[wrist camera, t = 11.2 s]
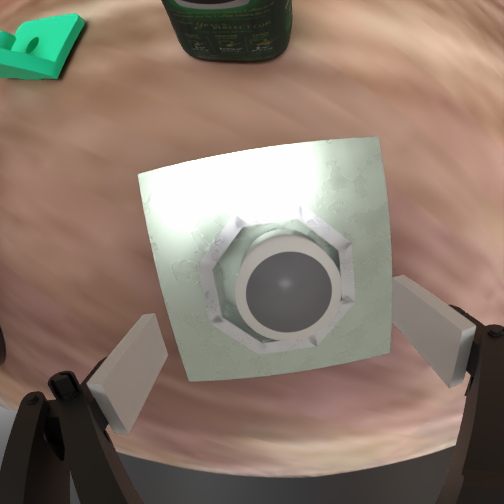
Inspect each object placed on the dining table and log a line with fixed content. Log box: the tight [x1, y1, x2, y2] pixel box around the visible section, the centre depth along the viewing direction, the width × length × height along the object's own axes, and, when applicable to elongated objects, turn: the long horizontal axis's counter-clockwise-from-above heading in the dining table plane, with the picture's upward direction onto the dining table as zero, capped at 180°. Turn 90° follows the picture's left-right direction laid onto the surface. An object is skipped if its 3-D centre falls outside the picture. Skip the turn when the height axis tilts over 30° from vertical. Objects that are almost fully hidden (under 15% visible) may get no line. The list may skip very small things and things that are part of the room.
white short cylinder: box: [235, 229, 342, 341], centre depth 21 cm, size 7×7×5 cm
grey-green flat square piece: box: [138, 137, 392, 382], centre depth 22 cm, size 20×20×4 cm
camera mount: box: [0, 14, 85, 80], centre depth 15 cm, size 12×8×10 cm, turn 70°
